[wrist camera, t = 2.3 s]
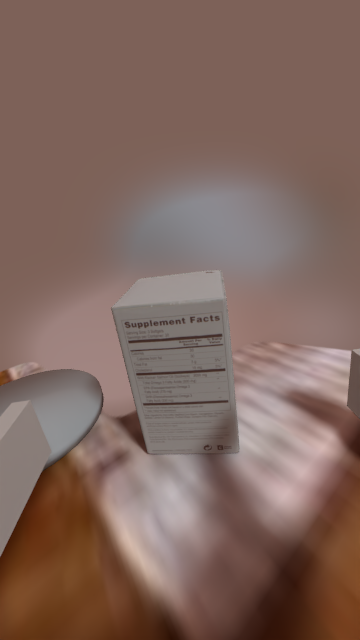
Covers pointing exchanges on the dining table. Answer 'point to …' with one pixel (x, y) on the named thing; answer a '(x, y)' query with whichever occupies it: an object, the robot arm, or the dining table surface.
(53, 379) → the plate
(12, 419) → the robot arm
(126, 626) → the dining table surface
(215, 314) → the supplement box
